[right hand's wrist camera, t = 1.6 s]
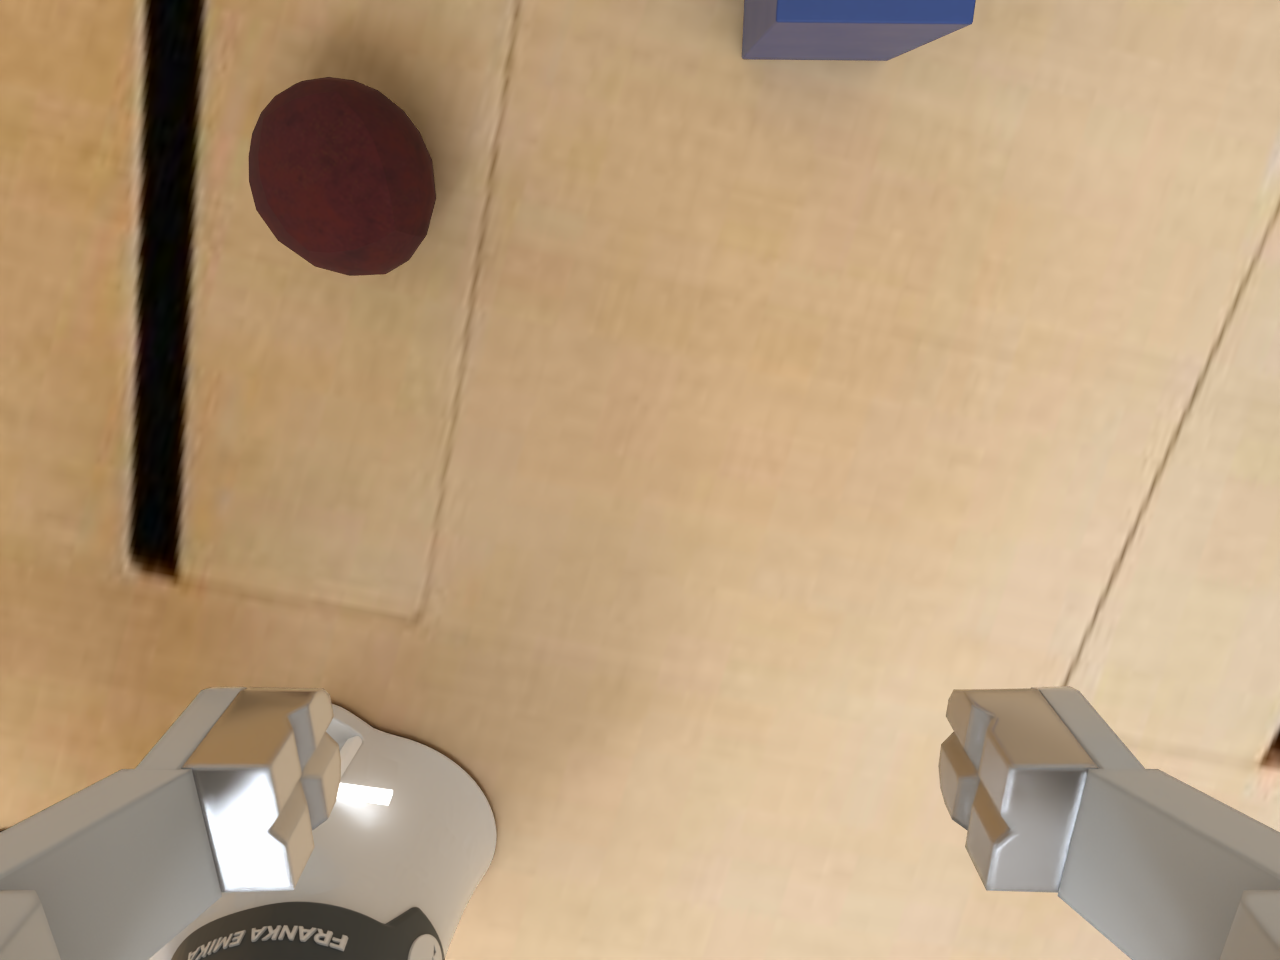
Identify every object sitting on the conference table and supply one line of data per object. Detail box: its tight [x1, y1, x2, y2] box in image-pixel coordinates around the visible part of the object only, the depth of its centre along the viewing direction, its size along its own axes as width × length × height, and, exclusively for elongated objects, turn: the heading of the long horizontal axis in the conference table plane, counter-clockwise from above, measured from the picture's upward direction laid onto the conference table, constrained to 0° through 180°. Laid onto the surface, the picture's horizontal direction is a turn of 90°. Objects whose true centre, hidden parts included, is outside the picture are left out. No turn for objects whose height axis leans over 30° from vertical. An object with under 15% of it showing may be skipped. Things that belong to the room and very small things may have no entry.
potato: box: [249, 77, 436, 275], centre depth 34 cm, size 7×8×7 cm
